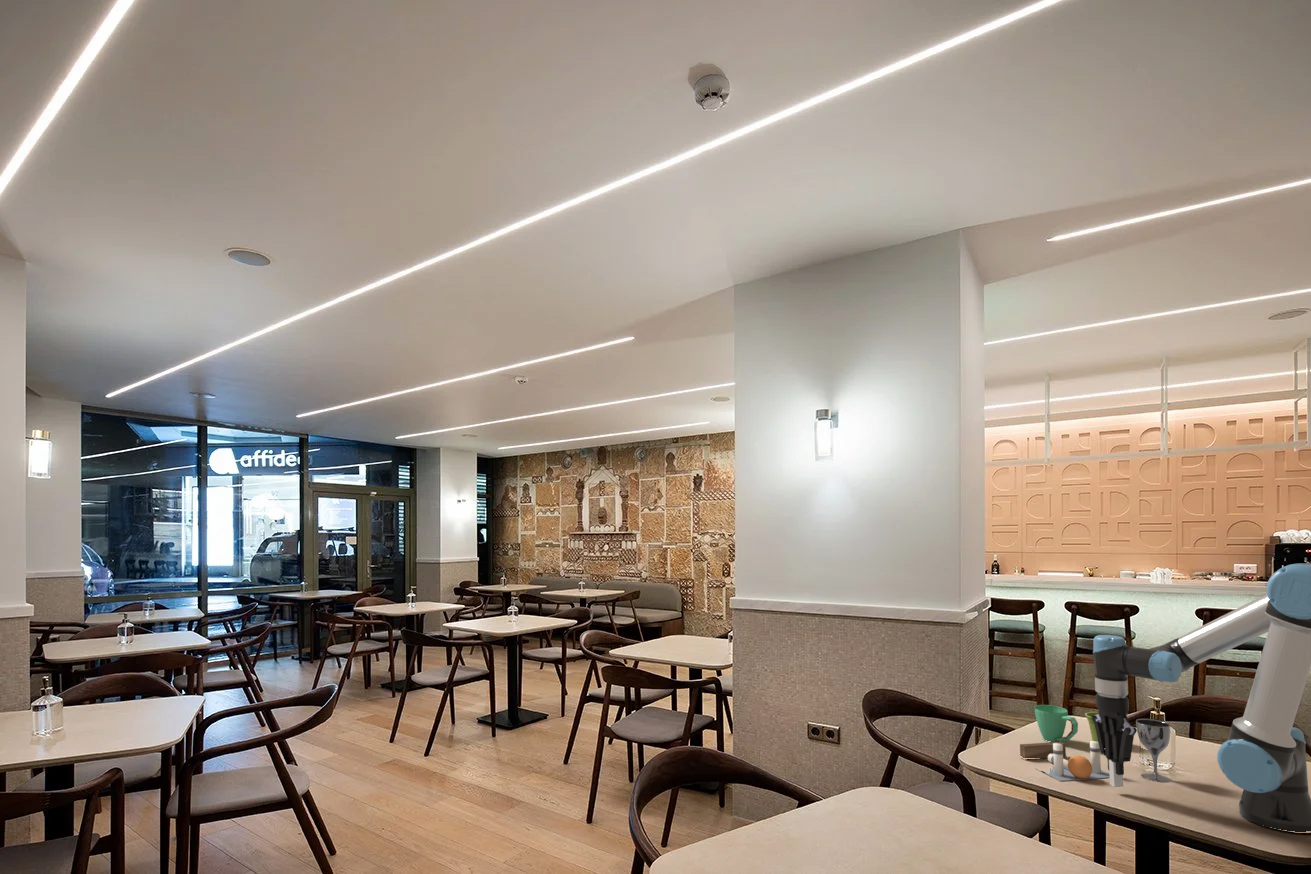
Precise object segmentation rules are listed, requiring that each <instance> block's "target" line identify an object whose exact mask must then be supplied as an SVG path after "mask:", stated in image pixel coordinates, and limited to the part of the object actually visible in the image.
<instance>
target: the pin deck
mask: <svg viewBox="0 0 1311 874" xmlns="http://www.w3.org/2000/svg"><path fill="white" fill-rule="evenodd" d="M1052 767H1053V769H1052V770H1051V768H1050V773H1049V774H1048V775H1049V776H1048V775H1047V776H1048V777H1050V776H1052V777H1053V779H1054V778H1055V780H1056V779H1057V781H1058V780H1059V781H1058V782H1071V781H1083V780H1084V781H1086V780H1096V779H1097V780H1099V779H1100V780H1101V779H1110V773H1109V772H1107V771H1105V770H1102V769H1101V774H1096V773H1092V774H1091V775H1090V776H1089V777H1088V778H1085V779H1080V778H1077V777H1075V776H1074V775H1072V774H1071V772H1070V771H1069V770H1067V769H1065V768H1064V776H1056V775H1055V774H1054V771H1053V770H1054V766H1052ZM1052 777H1051V778H1052Z"/></svg>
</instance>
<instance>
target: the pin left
mask: <svg viewBox="0 0 1311 874" xmlns="http://www.w3.org/2000/svg"><path fill="white" fill-rule="evenodd" d="M1053 757H1054V764H1053V767H1054V774H1055V775H1056V776H1064V766H1063V759H1064V758H1063V745H1062V744H1059V743H1053Z"/></svg>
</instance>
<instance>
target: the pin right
mask: <svg viewBox="0 0 1311 874" xmlns="http://www.w3.org/2000/svg"><path fill="white" fill-rule="evenodd" d="M1089 751H1090V752H1089V753H1090V763H1091V765H1092V773H1096V774H1101V770H1102V766H1101V765H1102V764H1101V752H1100V747H1099V743H1098V742H1096V741H1092V740H1090V741H1089Z"/></svg>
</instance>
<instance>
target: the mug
mask: <svg viewBox="0 0 1311 874" xmlns="http://www.w3.org/2000/svg"><path fill="white" fill-rule="evenodd" d="M1033 710H1034V715H1035V719H1036V723H1037V726H1038V728H1039V732H1040V734H1041V736H1042V738H1043V739H1042V740H1044V739H1045V740H1047V741H1051V742H1060V741H1061V742H1065V741H1071V739H1073V737H1074V736H1075V735H1076V734H1077V733H1078V731H1079V723H1078V721H1077V719H1076V717H1074V716H1070V715H1068V714H1069V712H1068V710H1067V709H1066V708H1064V707H1061V706H1057V705H1051V704H1037V705H1034V706H1033ZM1067 721H1069V722H1070V724H1071V731H1070V732H1068V734H1067V735H1066V736H1064V734H1065V730H1066V726H1067ZM1045 740H1044V741H1045ZM1047 741H1046V742H1047Z"/></svg>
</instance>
